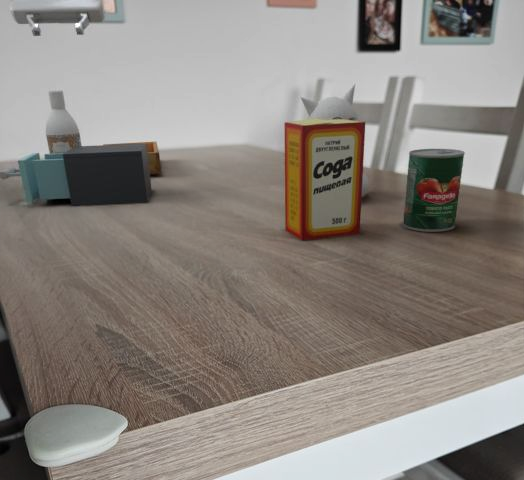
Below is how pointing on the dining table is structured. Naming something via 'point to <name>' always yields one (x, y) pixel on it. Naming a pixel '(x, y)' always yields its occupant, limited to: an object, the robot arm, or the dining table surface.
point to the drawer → (41, 176)
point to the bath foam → (60, 126)
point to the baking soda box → (323, 177)
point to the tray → (150, 156)
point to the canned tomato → (432, 189)
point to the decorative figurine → (335, 115)
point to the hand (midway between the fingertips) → (57, 33)
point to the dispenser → (108, 174)
